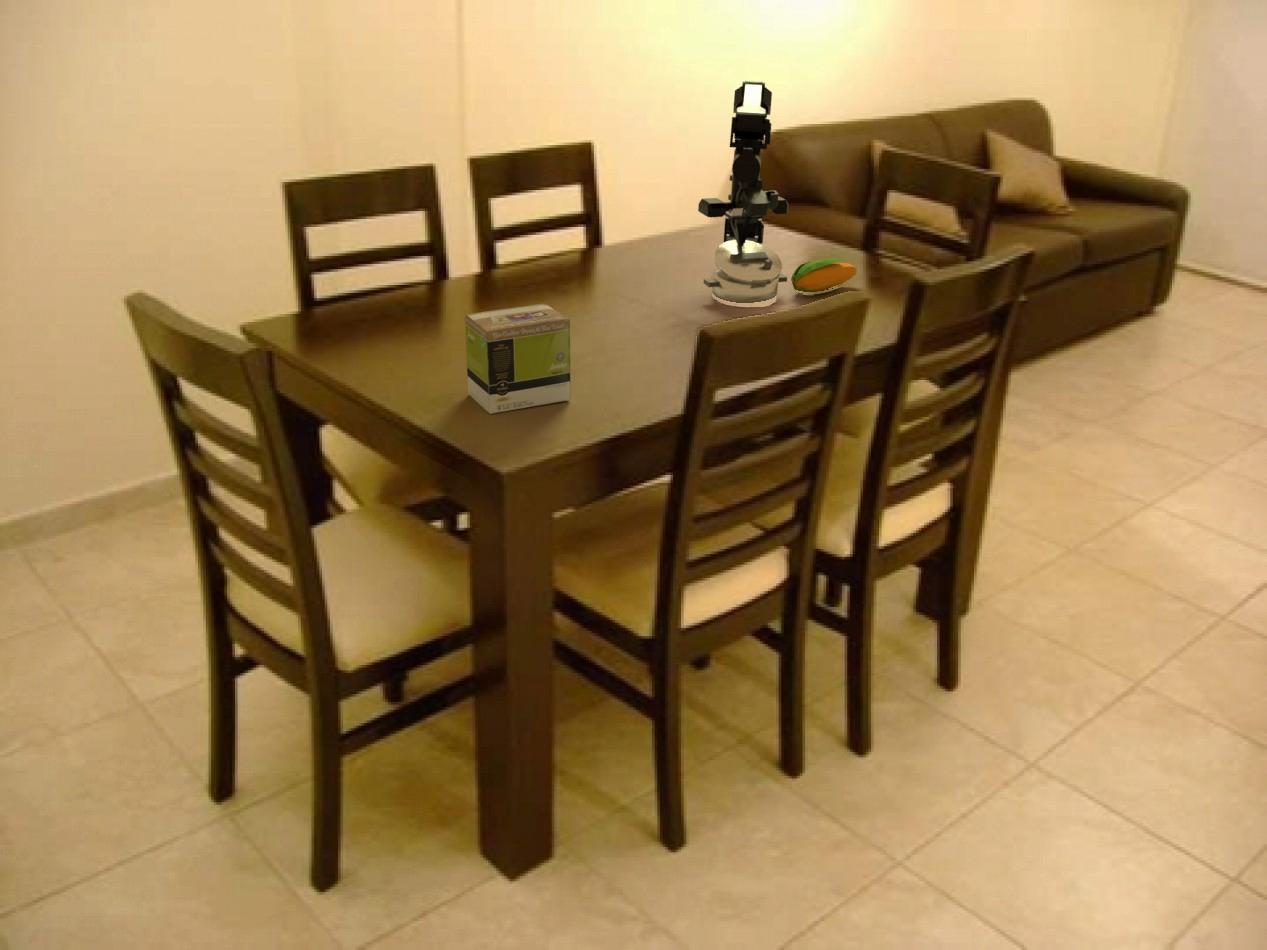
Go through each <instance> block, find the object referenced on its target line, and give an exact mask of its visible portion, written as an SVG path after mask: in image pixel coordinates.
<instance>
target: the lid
mask: <svg viewBox="0 0 1267 950" xmlns="http://www.w3.org/2000/svg"><path fill="white" fill-rule="evenodd" d="M713 260H714V264H715V266H716V267H717V268H718V269H719V270H720V271H721V272H722V273H724V274H725V275H727V276H728V277H730V278H732V279H734V280H737V281H740V282H743V283H748V284H752V285H762V284H770V283H771V282H772V281H774V280H775V279H777V278H778V277H779V275H780V273H781V274H782V269H783V262H782V260H781V258H780V257H779V255H778V253H776V252H775V250H773V249H771V248H769V247H768V246H766V245H765V244H763V243H762V244H759V243H757V242H753V241H748V240H746V241H745V243H744V245H743V246H738V244H737V241H736V240H731V241H727V242H724V241H723V242H722V243H720V244H719V245H718V246H717V248H716V249H715V251H714V255H713ZM718 269H717V270H718Z"/></svg>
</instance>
